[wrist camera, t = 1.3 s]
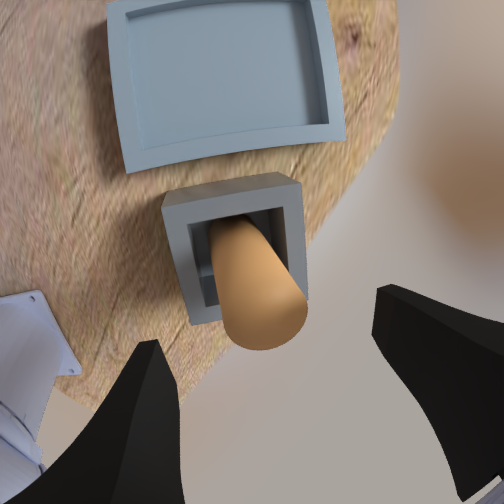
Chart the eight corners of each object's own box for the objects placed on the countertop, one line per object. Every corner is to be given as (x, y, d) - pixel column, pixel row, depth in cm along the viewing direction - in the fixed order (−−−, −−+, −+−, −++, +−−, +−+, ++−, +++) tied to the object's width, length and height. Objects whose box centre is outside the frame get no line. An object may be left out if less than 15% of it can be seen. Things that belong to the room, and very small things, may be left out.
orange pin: (212, 262, 18) (231, 357, 11) (203, 216, 17) (216, 290, 9) (259, 253, 19) (308, 339, 11) (253, 207, 17) (306, 271, 10)
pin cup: (190, 289, 19) (191, 325, 16) (167, 191, 16) (160, 208, 13) (287, 269, 20) (308, 300, 16) (277, 171, 17) (301, 183, 14)
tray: (133, 169, 16) (126, 174, 14) (114, 16, 11) (106, 4, 10) (331, 138, 17) (346, 140, 15) (310, -3, 13) (322, -15, 11)
